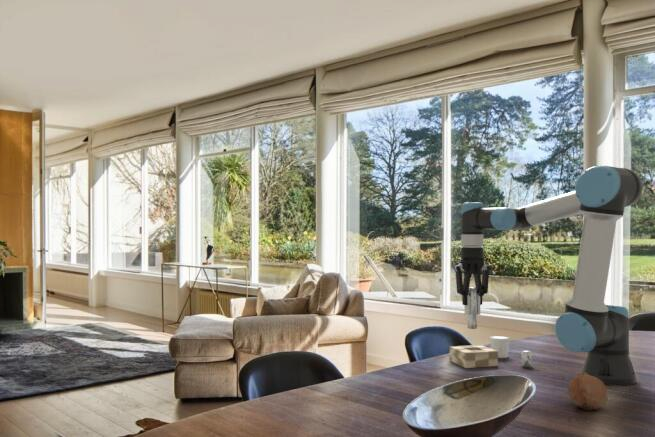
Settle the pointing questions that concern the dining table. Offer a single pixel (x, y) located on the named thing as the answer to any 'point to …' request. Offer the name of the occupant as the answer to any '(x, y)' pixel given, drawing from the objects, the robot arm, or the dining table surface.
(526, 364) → the short pin
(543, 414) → the dining table surface
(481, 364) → the hole block
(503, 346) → the shot glass
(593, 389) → the onion
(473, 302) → the long pin
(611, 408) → the dining table surface
